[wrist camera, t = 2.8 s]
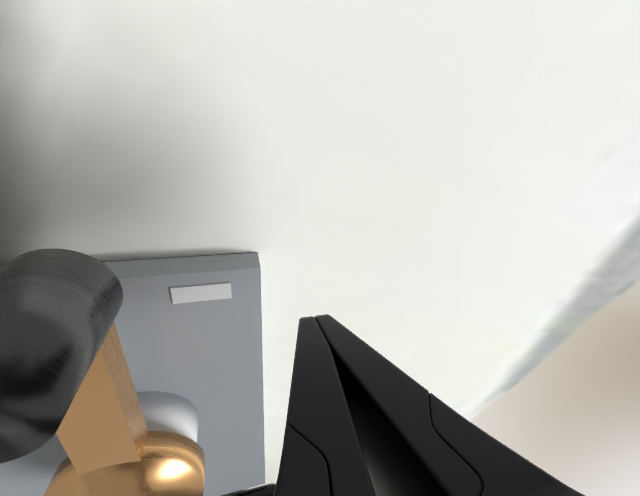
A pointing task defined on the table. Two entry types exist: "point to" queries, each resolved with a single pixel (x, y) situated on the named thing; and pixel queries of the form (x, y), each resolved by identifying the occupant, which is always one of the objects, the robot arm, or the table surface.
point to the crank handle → (80, 384)
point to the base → (185, 366)
